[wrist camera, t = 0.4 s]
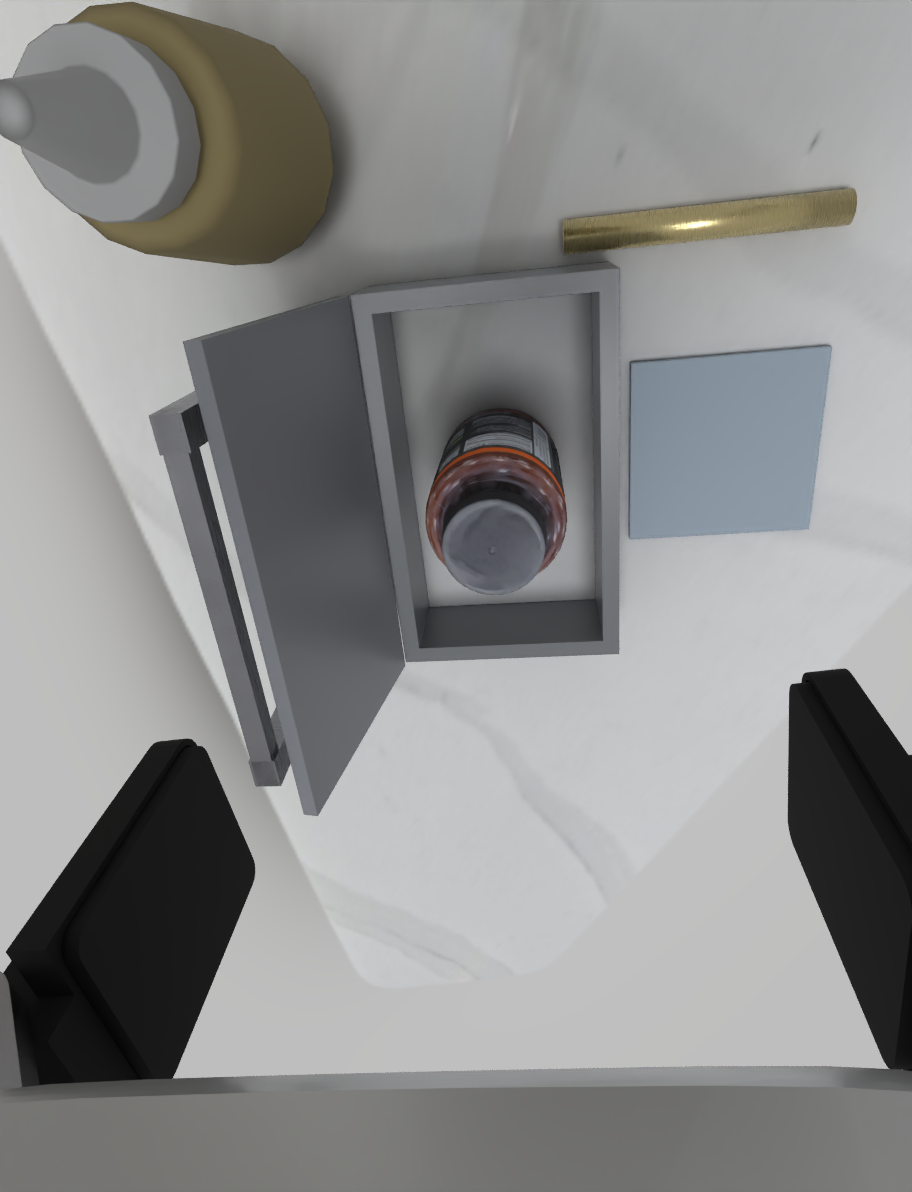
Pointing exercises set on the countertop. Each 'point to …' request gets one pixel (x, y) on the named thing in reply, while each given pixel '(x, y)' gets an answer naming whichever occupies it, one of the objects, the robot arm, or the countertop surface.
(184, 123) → the squeeze bottle
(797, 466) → the mat
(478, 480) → the supplement bottle
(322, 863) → the countertop surface
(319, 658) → the lid
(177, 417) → the stay bracket
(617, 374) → the case
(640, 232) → the rod
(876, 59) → the countertop surface
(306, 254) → the countertop surface
